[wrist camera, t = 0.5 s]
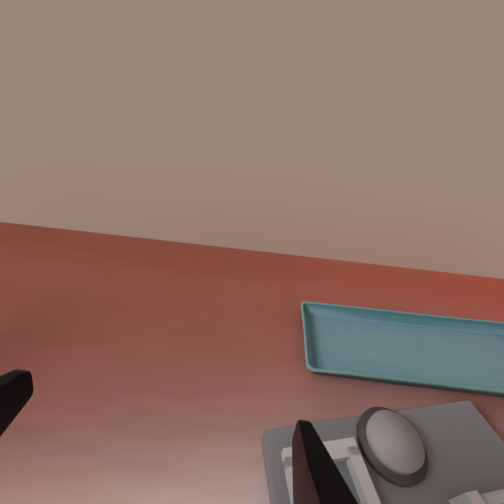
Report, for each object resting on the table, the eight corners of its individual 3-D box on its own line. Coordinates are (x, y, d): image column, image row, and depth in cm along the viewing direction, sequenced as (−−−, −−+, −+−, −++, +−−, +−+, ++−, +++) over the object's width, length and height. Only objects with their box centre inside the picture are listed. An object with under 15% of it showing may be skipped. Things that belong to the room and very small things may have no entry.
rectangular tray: (303, 381, 24) (307, 367, 23) (297, 311, 32) (300, 297, 30) (577, 416, 23) (600, 404, 22) (503, 335, 30) (517, 322, 29)
